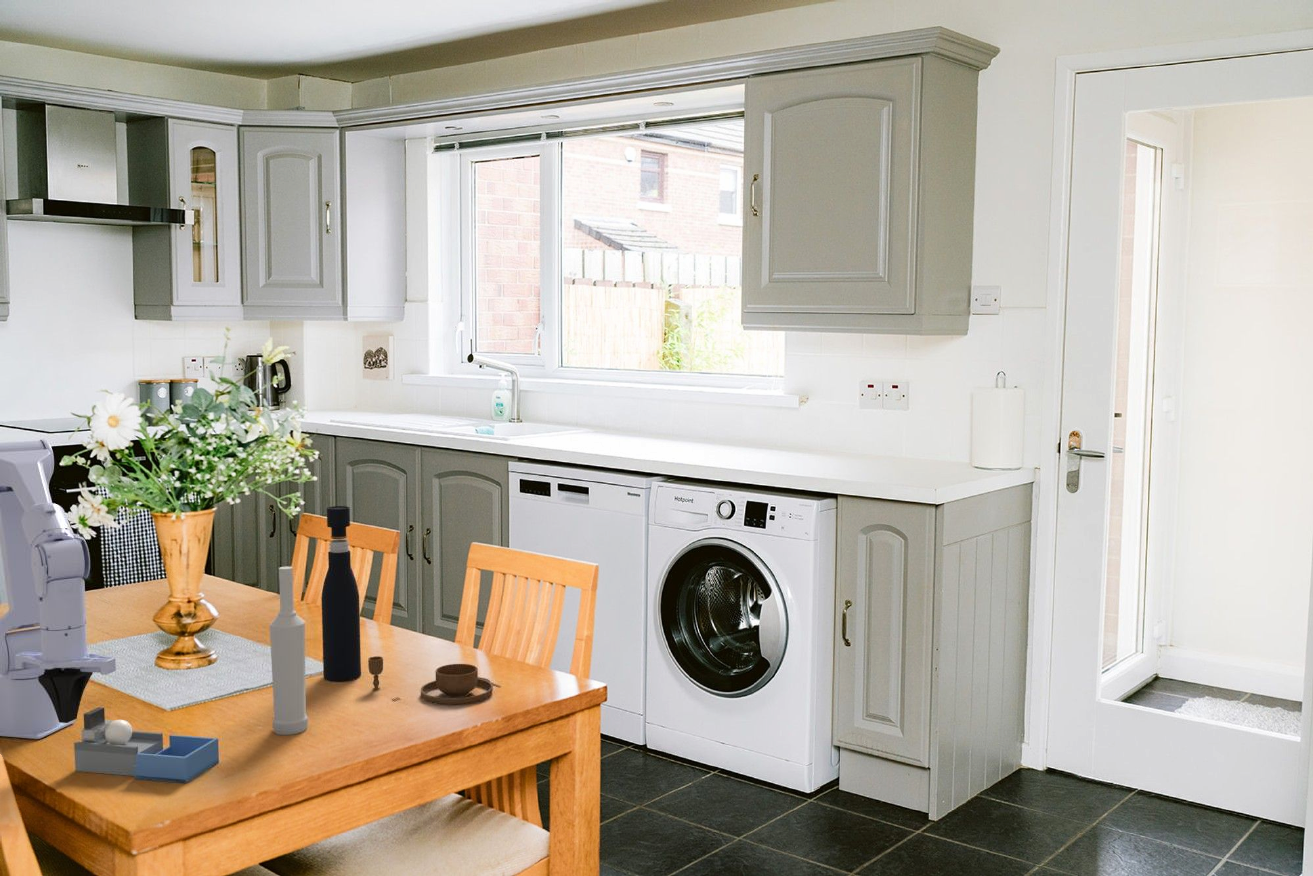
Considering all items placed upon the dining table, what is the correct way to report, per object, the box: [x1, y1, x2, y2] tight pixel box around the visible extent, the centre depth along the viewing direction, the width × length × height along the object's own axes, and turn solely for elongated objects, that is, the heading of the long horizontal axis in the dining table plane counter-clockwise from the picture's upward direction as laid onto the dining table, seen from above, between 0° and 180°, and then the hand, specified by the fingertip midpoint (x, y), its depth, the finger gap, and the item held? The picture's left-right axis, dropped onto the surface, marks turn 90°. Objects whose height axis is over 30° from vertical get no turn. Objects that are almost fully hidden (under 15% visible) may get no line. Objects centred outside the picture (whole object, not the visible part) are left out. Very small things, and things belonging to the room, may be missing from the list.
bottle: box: [269, 565, 309, 736], centre depth 177 cm, size 5×5×25 cm
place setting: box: [367, 655, 502, 706], centre depth 198 cm, size 18×20×6 cm
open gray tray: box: [73, 730, 164, 777], centre depth 163 cm, size 10×6×4 cm, turn 78°
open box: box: [133, 734, 220, 784], centre depth 162 cm, size 8×8×4 cm
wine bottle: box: [320, 505, 362, 683], centre depth 204 cm, size 6×6×30 cm
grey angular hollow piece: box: [80, 706, 114, 744], centre depth 164 cm, size 2×4×4 cm, turn 168°
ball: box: [105, 719, 133, 745], centre depth 163 cm, size 4×4×4 cm
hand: (67, 720), depth 165 cm, fingers closed
